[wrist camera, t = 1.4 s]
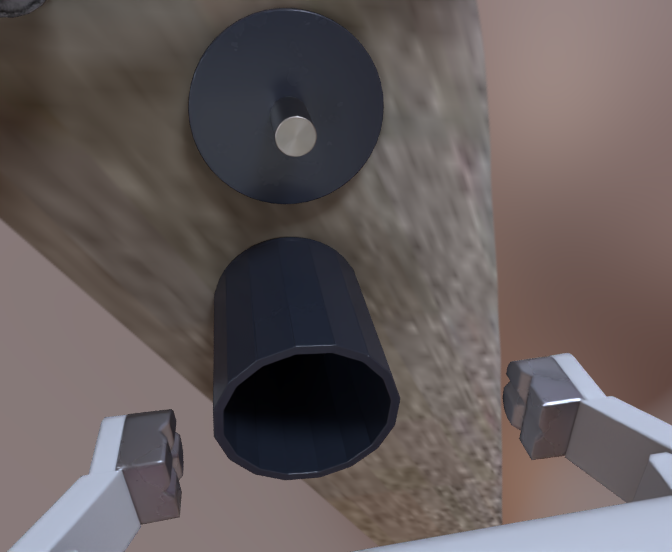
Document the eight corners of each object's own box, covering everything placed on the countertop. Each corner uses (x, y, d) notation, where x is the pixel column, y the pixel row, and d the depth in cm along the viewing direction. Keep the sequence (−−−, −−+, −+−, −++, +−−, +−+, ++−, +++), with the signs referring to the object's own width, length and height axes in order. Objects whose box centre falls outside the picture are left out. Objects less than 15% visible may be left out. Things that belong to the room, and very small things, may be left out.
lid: (153, 48, 33) (144, 69, 29) (349, -25, 33) (369, -15, 29) (235, 220, 40) (237, 258, 36) (398, 161, 40) (420, 192, 36)
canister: (189, 267, 42) (180, 387, 31) (334, 215, 41) (372, 319, 31) (247, 372, 48) (255, 500, 38) (373, 327, 48) (416, 444, 37)
